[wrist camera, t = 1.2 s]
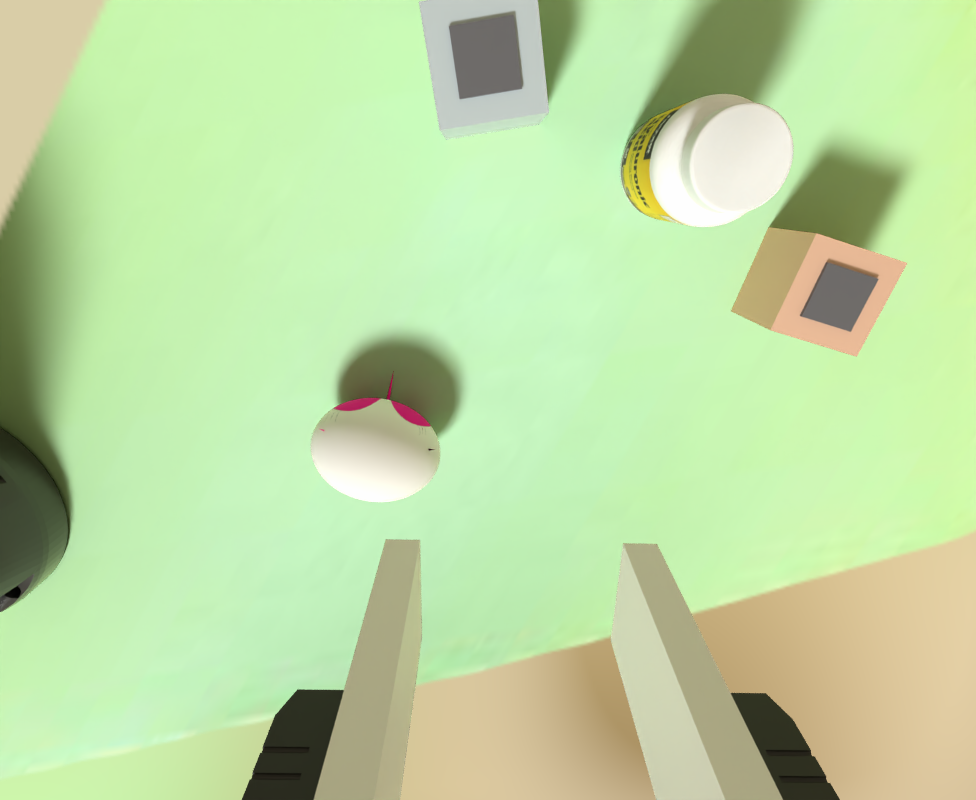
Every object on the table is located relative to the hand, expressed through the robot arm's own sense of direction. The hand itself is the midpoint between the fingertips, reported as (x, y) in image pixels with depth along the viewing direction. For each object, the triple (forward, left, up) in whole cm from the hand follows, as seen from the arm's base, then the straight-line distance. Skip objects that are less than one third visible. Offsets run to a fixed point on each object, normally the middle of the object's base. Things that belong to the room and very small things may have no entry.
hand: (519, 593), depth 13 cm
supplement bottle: (+9, +10, -23) cm, 27 cm away
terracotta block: (+17, +4, -23) cm, 29 cm away
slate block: (-1, +14, -23) cm, 27 cm away
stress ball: (-7, -5, -23) cm, 25 cm away
